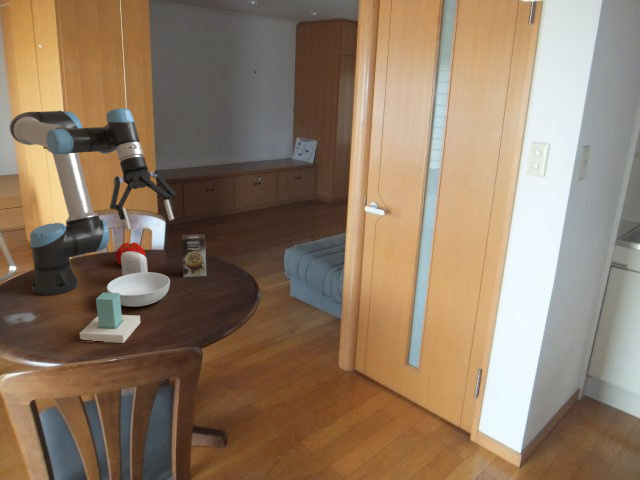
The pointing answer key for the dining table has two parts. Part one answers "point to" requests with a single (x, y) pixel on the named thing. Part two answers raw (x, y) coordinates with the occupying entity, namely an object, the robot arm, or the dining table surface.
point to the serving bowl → (140, 288)
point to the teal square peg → (109, 310)
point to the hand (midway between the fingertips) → (150, 224)
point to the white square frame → (111, 330)
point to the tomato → (129, 247)
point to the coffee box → (194, 255)
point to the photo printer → (133, 263)
